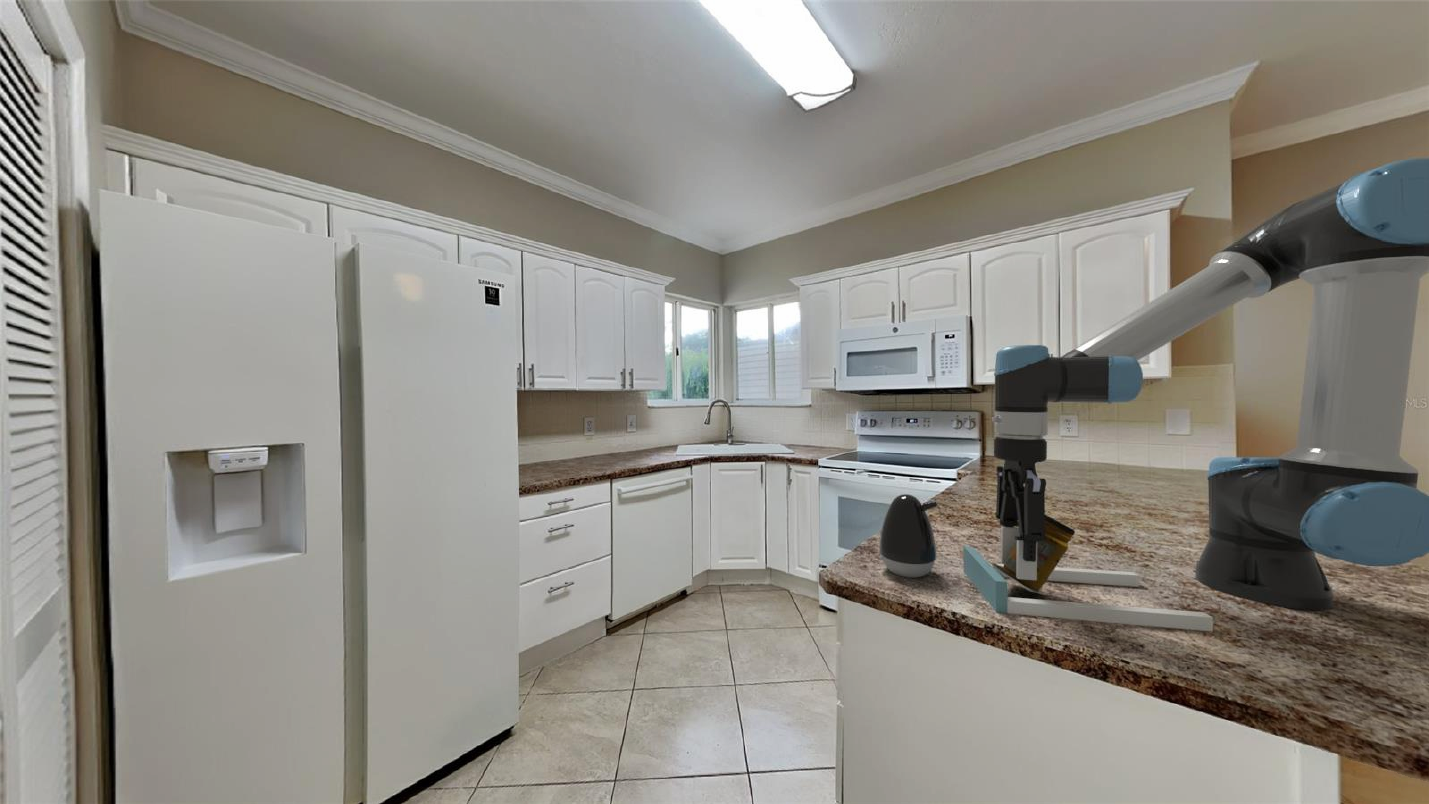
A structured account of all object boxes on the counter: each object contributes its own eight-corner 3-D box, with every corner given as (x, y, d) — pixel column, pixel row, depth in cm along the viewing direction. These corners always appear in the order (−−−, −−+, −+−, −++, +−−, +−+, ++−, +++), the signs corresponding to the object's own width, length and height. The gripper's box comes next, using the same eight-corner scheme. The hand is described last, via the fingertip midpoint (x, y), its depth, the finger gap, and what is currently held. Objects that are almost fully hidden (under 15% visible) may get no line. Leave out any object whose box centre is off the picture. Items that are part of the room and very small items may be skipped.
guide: (1133, 583, 81) (1133, 555, 81) (1213, 631, 65) (1212, 596, 65) (963, 571, 88) (963, 546, 88) (996, 613, 71) (995, 581, 71)
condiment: (1047, 596, 77) (1087, 536, 76) (1029, 592, 72) (1072, 528, 71) (1004, 567, 83) (1041, 512, 82) (986, 562, 78) (1024, 503, 77)
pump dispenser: (934, 588, 81) (933, 502, 81) (873, 576, 86) (872, 496, 86) (941, 569, 89) (940, 492, 89) (886, 560, 95) (885, 487, 95)
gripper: (977, 431, 88) (975, 550, 88) (1018, 441, 69) (1016, 592, 70) (1020, 432, 86) (1019, 553, 87) (1075, 443, 67) (1072, 597, 68)
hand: (1017, 570), depth 78 cm, fingers closed on condiment, 6 cm apart
